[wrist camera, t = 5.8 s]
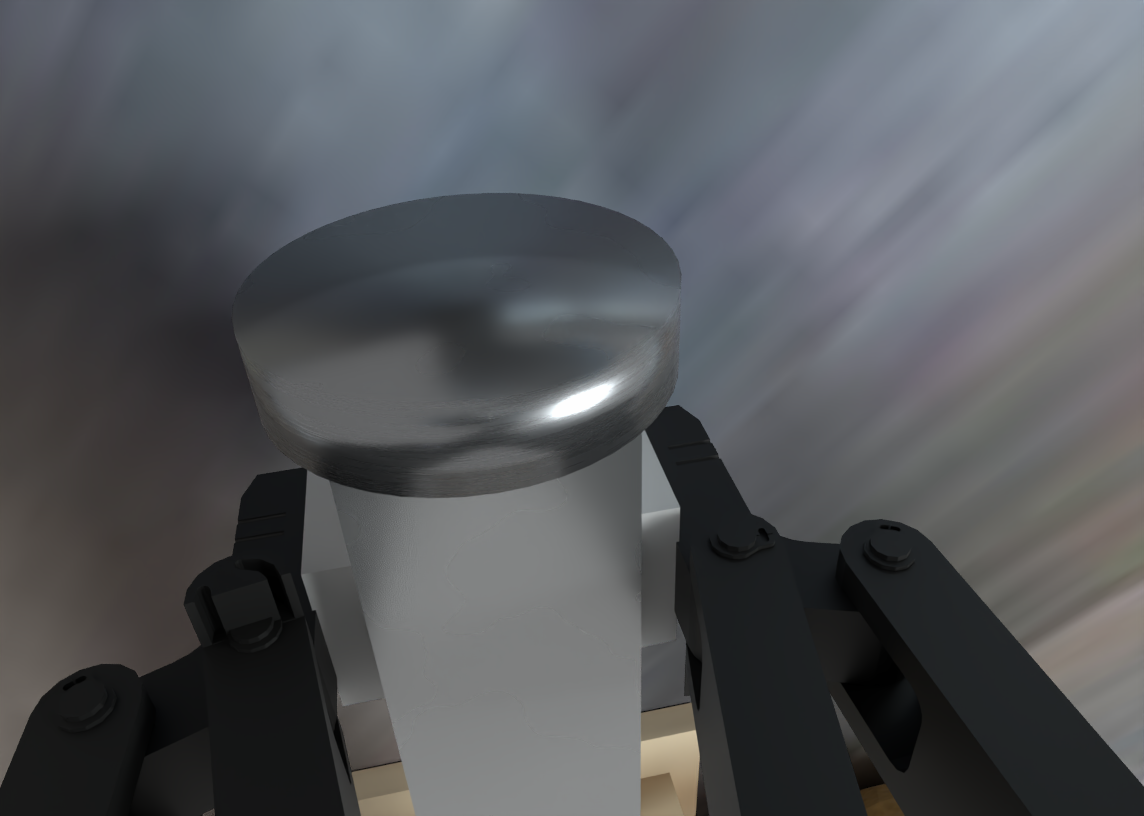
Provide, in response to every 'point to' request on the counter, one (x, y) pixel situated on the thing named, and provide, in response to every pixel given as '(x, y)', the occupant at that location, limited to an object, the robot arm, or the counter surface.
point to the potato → (880, 802)
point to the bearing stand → (662, 771)
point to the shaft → (483, 474)
